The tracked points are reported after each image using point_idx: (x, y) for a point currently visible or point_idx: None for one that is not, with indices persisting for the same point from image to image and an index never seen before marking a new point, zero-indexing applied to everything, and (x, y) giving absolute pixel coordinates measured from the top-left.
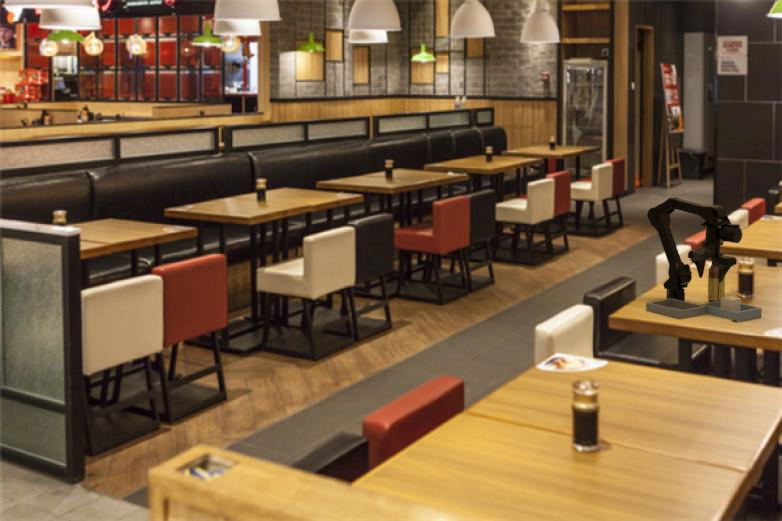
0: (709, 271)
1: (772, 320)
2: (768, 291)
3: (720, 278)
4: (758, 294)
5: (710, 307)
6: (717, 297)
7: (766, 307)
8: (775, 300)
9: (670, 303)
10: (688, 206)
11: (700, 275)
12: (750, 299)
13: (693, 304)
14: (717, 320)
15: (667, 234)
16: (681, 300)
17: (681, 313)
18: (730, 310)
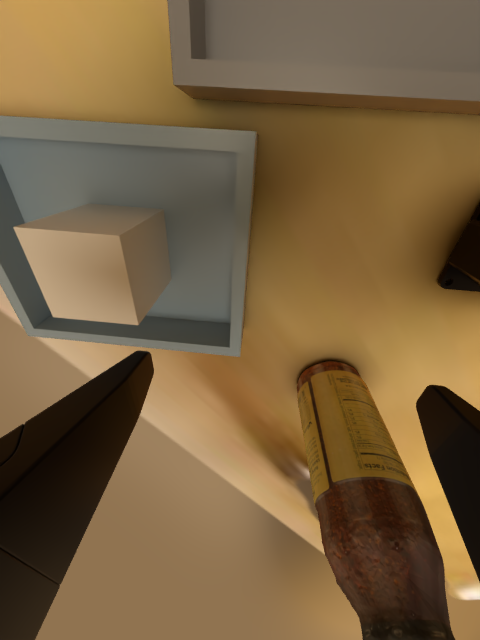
0: (425, 537)
1: (4, 304)
2: (292, 518)
3: (92, 380)
4: (292, 497)
5: (157, 125)
6: (313, 387)
7: (178, 423)
8: (224, 478)
9: None
10: None
11: (446, 410)
12: (273, 461)
13: (298, 65)
14: (55, 45)
15: None
16: (477, 239)
17: None
18: (76, 210)
